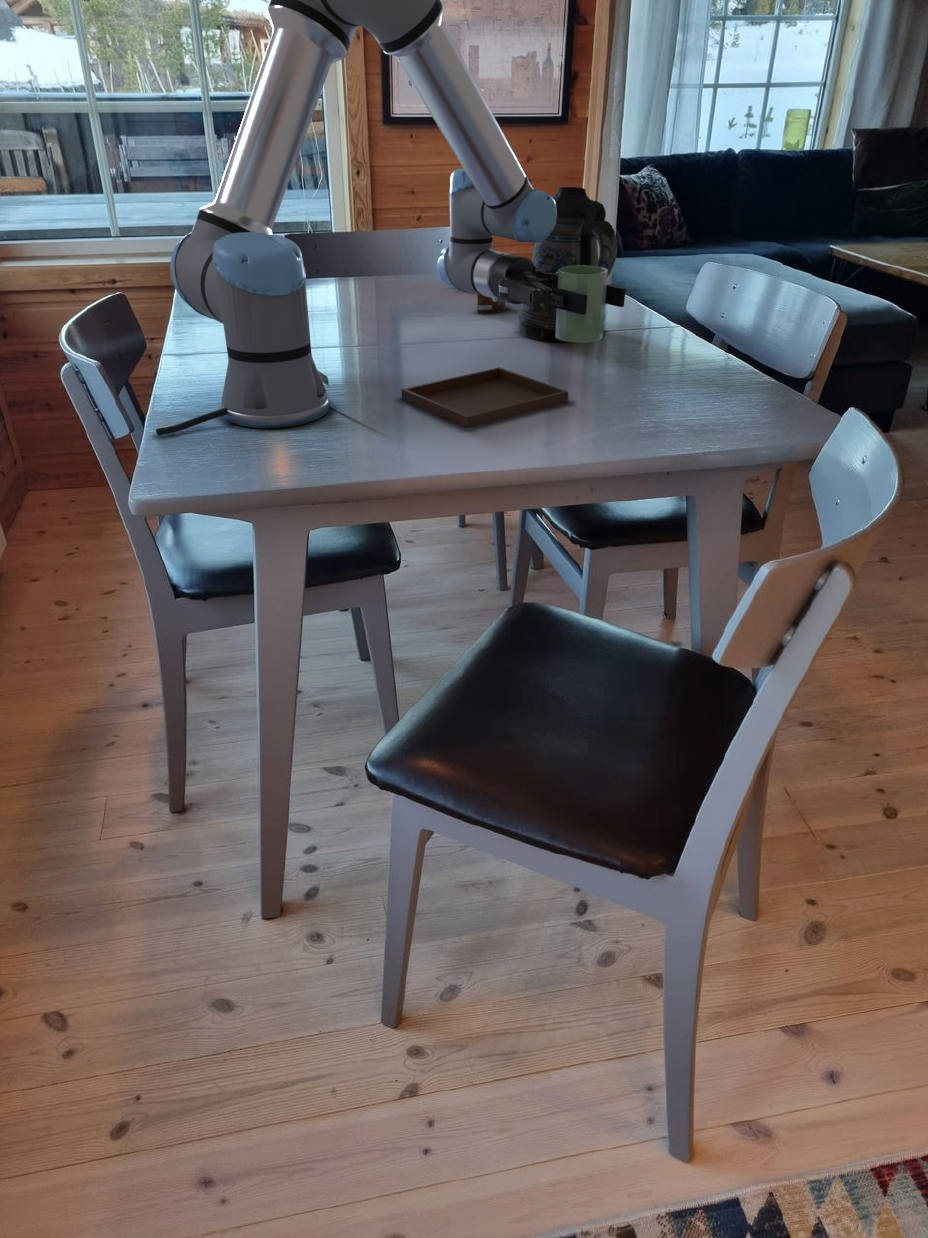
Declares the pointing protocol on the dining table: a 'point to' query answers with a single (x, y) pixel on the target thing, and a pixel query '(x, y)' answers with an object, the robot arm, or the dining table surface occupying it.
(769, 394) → the dining table surface
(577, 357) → the dining table surface
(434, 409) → the tray
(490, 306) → the food container
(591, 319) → the cup
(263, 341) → the robot arm
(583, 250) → the beer stein
